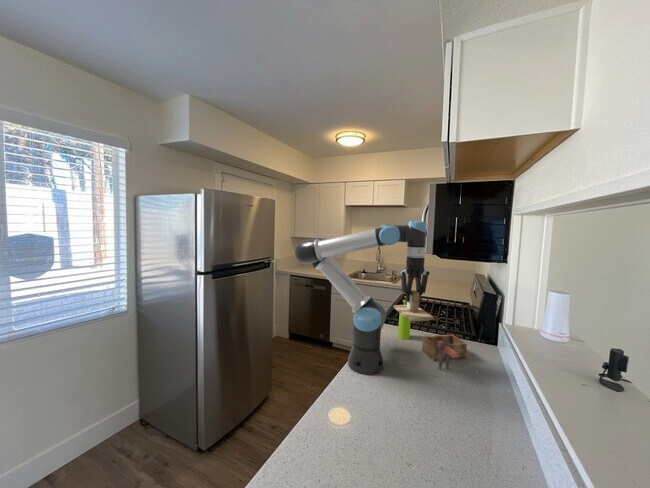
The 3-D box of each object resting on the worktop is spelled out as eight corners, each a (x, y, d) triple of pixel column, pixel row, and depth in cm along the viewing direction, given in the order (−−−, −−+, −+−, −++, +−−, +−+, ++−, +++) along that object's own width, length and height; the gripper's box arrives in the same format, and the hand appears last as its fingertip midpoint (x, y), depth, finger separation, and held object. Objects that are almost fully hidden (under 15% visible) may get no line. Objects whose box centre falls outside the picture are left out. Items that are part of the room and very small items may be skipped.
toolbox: (439, 369, 115) (441, 343, 114) (419, 350, 132) (420, 327, 130) (476, 366, 118) (478, 341, 117) (451, 348, 135) (453, 325, 133)
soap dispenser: (413, 339, 143) (415, 302, 141) (399, 339, 143) (401, 302, 141) (409, 334, 149) (411, 299, 147) (397, 334, 149) (398, 298, 147)
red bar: (452, 357, 108) (453, 353, 108) (436, 344, 119) (437, 340, 119) (457, 357, 109) (457, 353, 108) (440, 344, 119) (441, 340, 119)
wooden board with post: (393, 309, 129) (394, 286, 128) (414, 309, 131) (415, 286, 130) (410, 323, 113) (411, 296, 112) (433, 322, 115) (435, 296, 114)
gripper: (402, 257, 115) (399, 312, 117) (436, 257, 117) (433, 310, 120) (395, 255, 122) (392, 306, 124) (427, 255, 125) (424, 305, 127)
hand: (412, 308), depth 122 cm, fingers closed on wooden board with post, 3 cm apart
